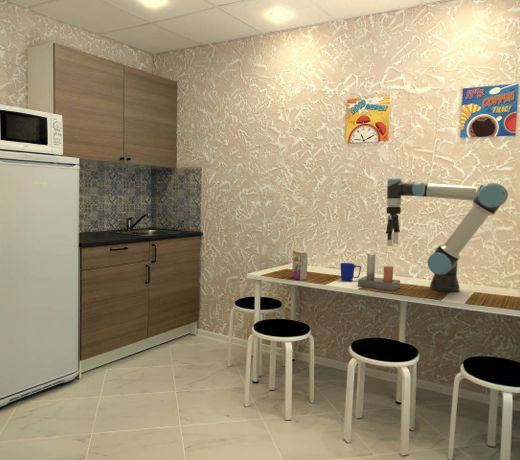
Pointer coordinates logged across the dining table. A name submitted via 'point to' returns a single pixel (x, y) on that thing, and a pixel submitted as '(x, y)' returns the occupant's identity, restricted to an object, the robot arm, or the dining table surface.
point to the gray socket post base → (375, 282)
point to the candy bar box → (299, 265)
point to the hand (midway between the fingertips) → (392, 244)
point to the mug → (348, 271)
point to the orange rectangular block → (388, 274)
